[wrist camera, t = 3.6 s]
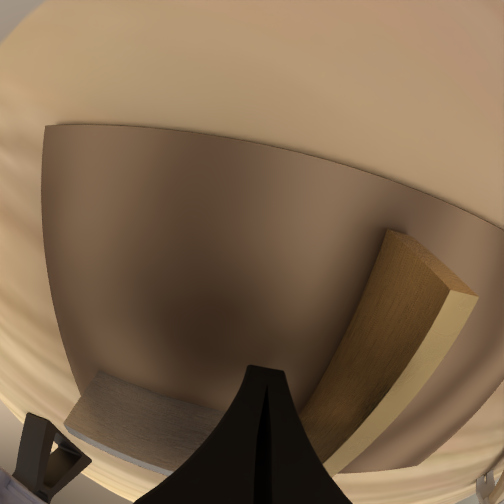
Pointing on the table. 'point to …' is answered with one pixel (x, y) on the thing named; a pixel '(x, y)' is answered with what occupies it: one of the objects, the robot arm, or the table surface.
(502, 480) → the hammer
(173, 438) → the strip
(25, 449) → the phone stand
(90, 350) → the walnut board
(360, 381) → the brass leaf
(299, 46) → the table surface
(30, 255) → the table surface
